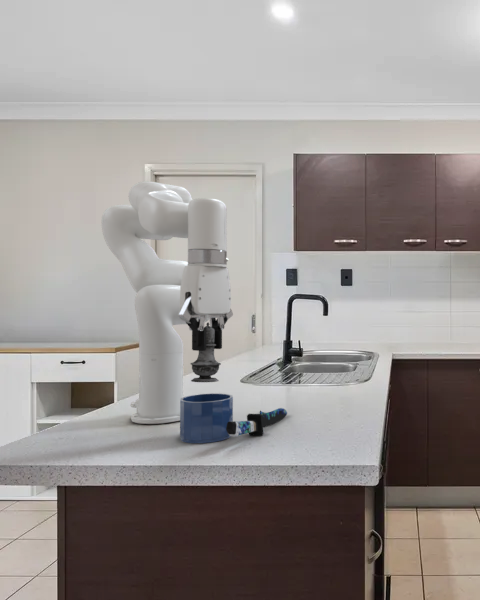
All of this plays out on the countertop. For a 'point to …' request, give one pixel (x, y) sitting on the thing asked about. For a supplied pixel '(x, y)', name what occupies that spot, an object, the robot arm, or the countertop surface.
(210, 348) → the salt shaker
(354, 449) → the countertop surface
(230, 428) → the knife
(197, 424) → the blue cup
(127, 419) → the countertop surface
